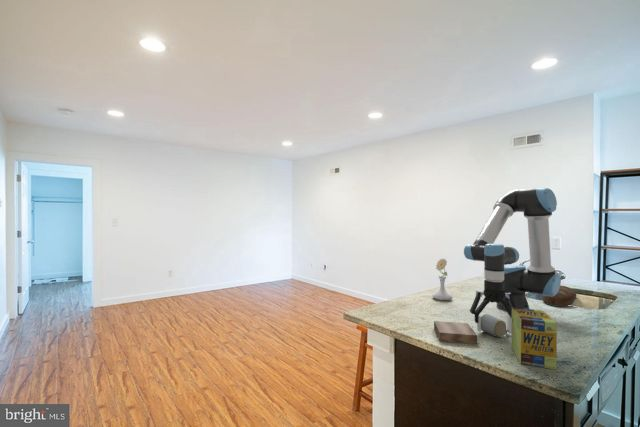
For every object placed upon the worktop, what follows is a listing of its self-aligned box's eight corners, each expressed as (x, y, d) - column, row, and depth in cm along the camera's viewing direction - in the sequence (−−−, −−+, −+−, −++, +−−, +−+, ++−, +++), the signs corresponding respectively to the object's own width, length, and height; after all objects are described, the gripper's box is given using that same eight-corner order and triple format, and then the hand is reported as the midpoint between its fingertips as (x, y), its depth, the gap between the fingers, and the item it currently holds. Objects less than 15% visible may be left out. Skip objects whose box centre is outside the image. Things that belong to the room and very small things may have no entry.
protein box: (520, 364, 107) (520, 318, 107) (510, 346, 122) (511, 306, 122) (557, 370, 103) (557, 323, 103) (543, 351, 118) (543, 309, 118)
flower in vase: (430, 296, 196) (430, 256, 196) (449, 297, 194) (449, 256, 194) (435, 302, 183) (435, 259, 183) (455, 303, 181) (456, 259, 181)
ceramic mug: (495, 339, 129) (495, 320, 129) (478, 332, 136) (478, 314, 136) (513, 335, 133) (513, 317, 133) (495, 329, 140) (495, 312, 140)
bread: (537, 304, 181) (537, 289, 181) (548, 293, 208) (548, 280, 208) (572, 310, 171) (572, 294, 171) (578, 297, 197) (579, 284, 197)
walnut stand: (467, 331, 137) (467, 323, 137) (477, 344, 123) (477, 335, 123) (434, 328, 140) (434, 320, 140) (439, 341, 126) (439, 332, 126)
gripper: (520, 279, 136) (520, 330, 136) (462, 277, 140) (462, 326, 140) (528, 283, 128) (528, 337, 128) (466, 280, 133) (466, 332, 133)
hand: (493, 331), depth 134 cm, fingers closed on ceramic mug, 11 cm apart
